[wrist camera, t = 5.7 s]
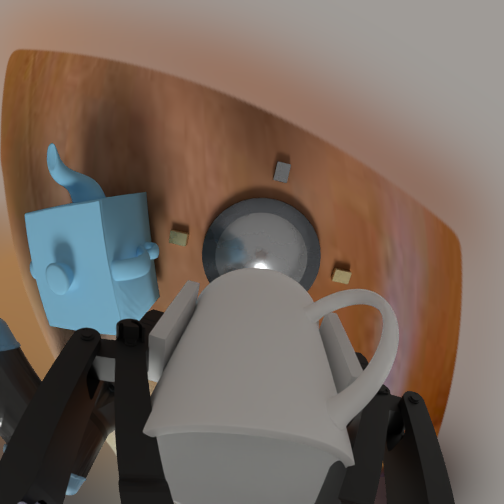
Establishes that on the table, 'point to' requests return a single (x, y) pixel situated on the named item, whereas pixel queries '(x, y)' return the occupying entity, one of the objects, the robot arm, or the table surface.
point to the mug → (259, 393)
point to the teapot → (92, 254)
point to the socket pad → (262, 240)
